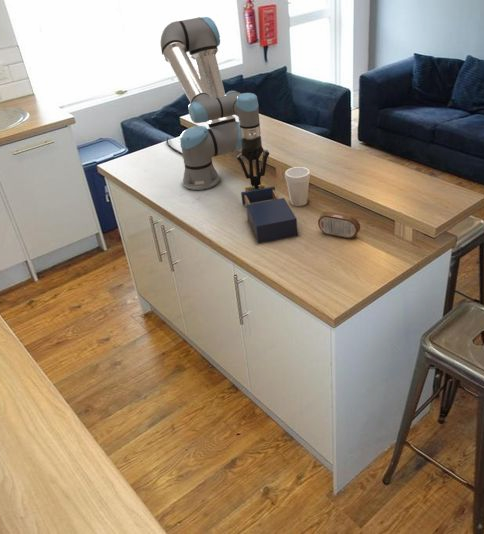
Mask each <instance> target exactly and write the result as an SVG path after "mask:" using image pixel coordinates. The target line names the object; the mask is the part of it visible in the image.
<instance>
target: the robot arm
mask: <svg viewBox="0 0 484 534" xmlns="http://www.w3.org/2000/svg"><path fill="white" fill-rule="evenodd" d="M220 38H221V35H220V31H219V29H218V27H217V25H216V23H215V21H214V20H213V19H212V18H211V17H209V16H203V17H202V16H201V17H199V16H198V17H194V18H188V19H184V20H183V19H182V20H176V21H172V22H170V23H168V24H167V25H166V26H165V27H164V29H163V31H162V32H161V35H160V38H159V50H160V53H161V55H162V57H163V59H164V61H165V62H167V63H169V65H170V67H171V69H172V70H173V72H174V74H175V76H176V78H177V80H178V82H179V84H180V86H181V88H182V89H183V90H182V91H184V93H185V95H186V98H187V99H188V101H189V104H188V115H189V116H190V119H191V122H193V123H194V124H202V123H207V122H208V123H207V125H208V128H207V126H205V125H194V126H191V127H189V128H187V129H185V130H183V131H182V133H181V134H180V136H179V140H180V141H179V143H180V149H181V151H180V150H178V149H176V148H175V147H173V146H172V145H171V144H170V143H169V137H166V144H167V146H168V147H169V148H170V149H171V150H173V151H175V152H177V153H178V154H180V155H182V160H183V164H184V171H183V178H182V183H183V186H184V188H186V189H187V190H190V191H191V190H192V191H203V190H209V189H211V188H215V186H216V185H218V184H219V182H220V177H219V173H218V172H217V169H216V168H215V166H214V164H213V160H212V158H214V157H215V158H216V157H219V156H222V155H226V154H230V153H234V152H237V151H240V153H238V154H236V155H235V158H236V159H237V161H238V162H239V164H240V166H241V169H242V171H243V174H244V176H245V178H246V180H248V179H249V182H250V187H251V186H254V190H256V189H259V187H258V185H262V183H261V181H262V180H261V178H262V177H264V176H265V174H266V168H267V162H268V158H269V156H270V152H269V150H268V149H264V148H263V145H262V135H261V133H262V131H261V124H260V123H261V122H260V112H259V111H260V109H259V102H258V96H257V95H256V94H255V93H253V92H243V93H241V92H239V91H236V90H229V91H227V92H225V87H224V84H223V79H222V75H221V71H220V68H219V64H218V60H217V53H218V51H219V49H218V47H219V46H220V44H221V39H220ZM187 53H189V56H188V54H187ZM190 58H191V59H193V60H194V62H195V66H196V69H197V70H196V69H195V66H194V65H193V63H192V61H191V59H190ZM235 116H237V117H238V121H237V120H236V117H235ZM261 156H262V157H261ZM260 157H261V163H260ZM244 158H245V159H246V160H247V165H248V170H247V167H246V164H245V162H244ZM253 161H254V165H253ZM254 169H255V175H254Z"/></svg>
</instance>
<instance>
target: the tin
mask: <svg viewBox="0 0 484 534" xmlns="http://www.w3.org/2000/svg"><path fill="white" fill-rule="evenodd" d="M317 225H318V228H319V230H320V231H321V232H322V233H323V234H325V235H329V236H333V237H338V238H343V239H353V238H355V237H356V236H357V235H358V233H359V232H360V230H361V224H360V222H359V221H358V219H357V218H355V217H354V216H352V215H349V214H345V213H344V214H342V213H337V212H333V211H325V212H323V213H322V214H321V215H320V216H319V218H318V221H317Z"/></svg>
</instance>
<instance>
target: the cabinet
mask: <svg viewBox="0 0 484 534" xmlns="http://www.w3.org/2000/svg"><path fill="white" fill-rule="evenodd" d="M245 208H246V216H247V223H248V225H249V226H250V229H251V232H252V234H253V235H254V238H255V240H256V242H257V244H262V243H268V242H272V241H277V240H282V239H283V240H284V239H288V238H293V237H297V236H299V235H298V221H297V220H298V219H297V217H296V215H295V213H294V212H293V210H292V208H291V207H290V205H289V204H288V202H287V200H286V199H285V198H284V197H281V198H279V199H275V200H270V201H265V202H259V203H254V204H249V205H246V206H245Z"/></svg>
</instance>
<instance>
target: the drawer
mask: <svg viewBox="0 0 484 534" xmlns="http://www.w3.org/2000/svg"><path fill="white" fill-rule="evenodd" d="M258 187H259V189H256V190H254V186H251V185H250V186H246V187H244V190H245V191H241V192H240V196H241V204H242V206H245V207H246V205H249V204H254V203H259V202H265V201H270V200H275V199H280V197H279V196H278V194H277V192H276V187H275V185H274V186H267V187H266V184H265V183H263V184H262V183H261V185H258Z"/></svg>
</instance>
